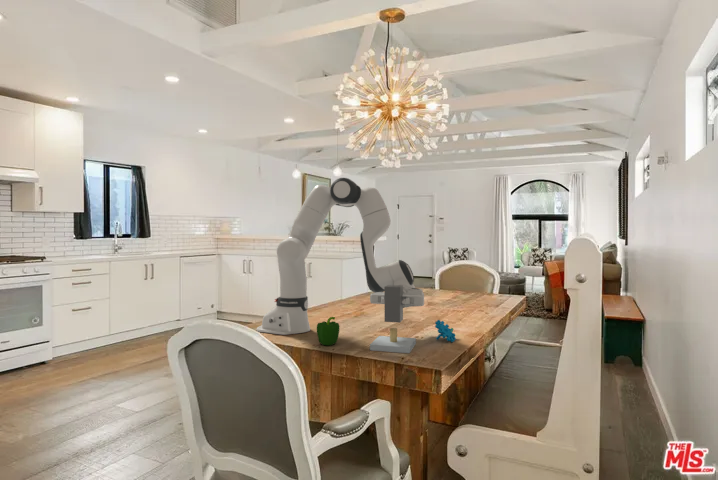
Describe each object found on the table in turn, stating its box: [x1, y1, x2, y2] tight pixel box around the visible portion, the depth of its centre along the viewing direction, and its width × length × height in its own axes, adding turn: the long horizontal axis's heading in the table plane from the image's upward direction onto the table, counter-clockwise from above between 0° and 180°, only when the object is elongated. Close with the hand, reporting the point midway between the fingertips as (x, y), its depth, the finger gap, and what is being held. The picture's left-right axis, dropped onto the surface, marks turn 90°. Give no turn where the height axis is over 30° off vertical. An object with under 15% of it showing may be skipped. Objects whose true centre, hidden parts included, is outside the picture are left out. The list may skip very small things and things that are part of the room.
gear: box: [434, 319, 457, 343], centre depth 173 cm, size 11×6×10 cm
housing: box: [384, 285, 404, 324], centre depth 162 cm, size 6×6×12 cm
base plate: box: [369, 327, 417, 354], centre depth 162 cm, size 14×14×6 cm
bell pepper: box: [316, 316, 340, 346], centre depth 166 cm, size 8×8×10 cm
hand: (393, 301), depth 161 cm, fingers closed on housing, 6 cm apart
